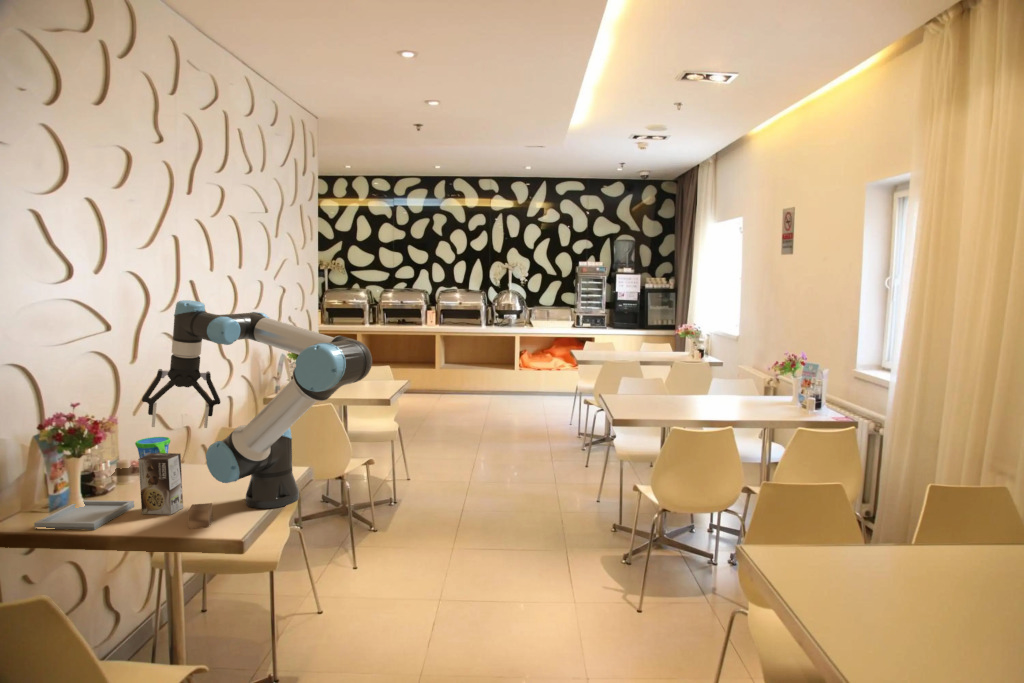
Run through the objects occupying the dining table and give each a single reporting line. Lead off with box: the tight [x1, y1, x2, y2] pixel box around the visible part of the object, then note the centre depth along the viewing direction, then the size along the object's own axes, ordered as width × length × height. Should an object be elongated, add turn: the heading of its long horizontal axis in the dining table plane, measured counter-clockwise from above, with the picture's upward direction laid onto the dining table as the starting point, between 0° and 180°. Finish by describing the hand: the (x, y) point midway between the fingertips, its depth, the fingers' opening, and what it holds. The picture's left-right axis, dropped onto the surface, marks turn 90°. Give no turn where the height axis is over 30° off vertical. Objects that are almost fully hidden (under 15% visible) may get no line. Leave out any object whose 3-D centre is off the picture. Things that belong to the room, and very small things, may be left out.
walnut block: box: [187, 502, 214, 529], centre depth 181 cm, size 5×5×5 cm
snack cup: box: [134, 436, 171, 459], centre depth 234 cm, size 16×10×10 cm
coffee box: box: [137, 452, 184, 515], centre depth 191 cm, size 9×6×16 cm
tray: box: [33, 499, 135, 531], centre depth 186 cm, size 16×18×2 cm
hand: (179, 426), depth 194 cm, fingers open, 13 cm apart
